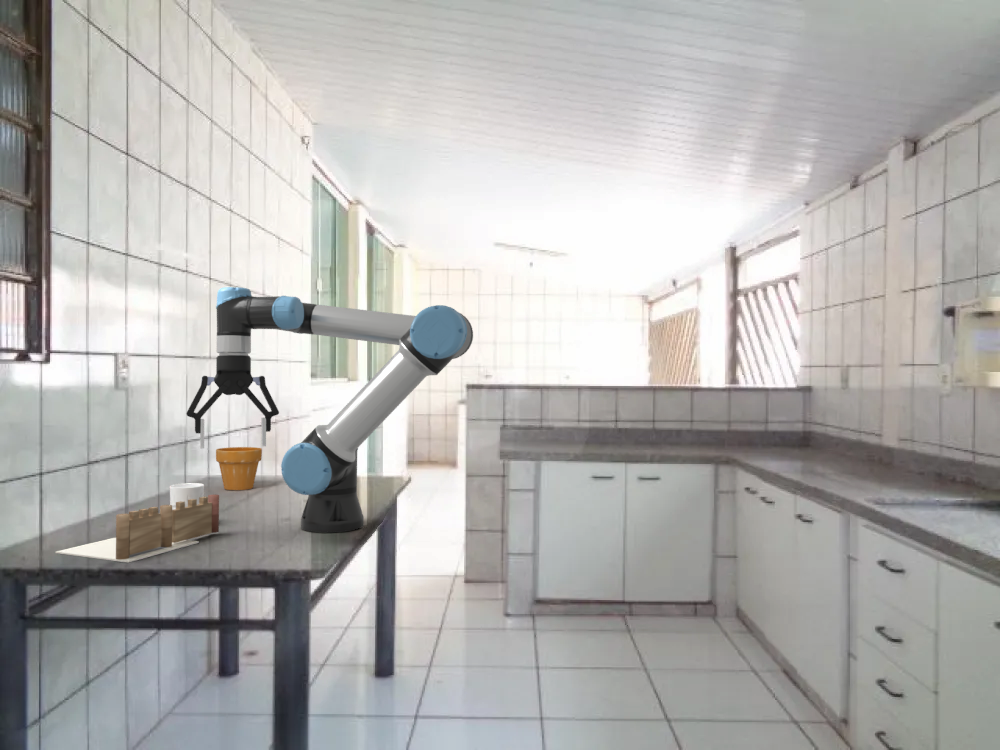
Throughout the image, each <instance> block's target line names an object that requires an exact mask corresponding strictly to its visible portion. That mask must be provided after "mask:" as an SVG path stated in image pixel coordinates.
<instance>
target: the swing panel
mask: <svg viewBox="0 0 1000 750" xmlns="http://www.w3.org/2000/svg"><path fill="white" fill-rule="evenodd" d="M219 528H220V494H217V493H215V494H214V493H213V494H208V495H207V496H204V497H200V498H199V504H198V505H197V499H190V500H188V507H185V502H182V501H180V502H176V509H174V510H172V543H176V542H180V541H184V540H191V539H194V538H195V539H196V538H199V537H201V536H206V535H210V534H215V533H219V532H220V529H219Z"/></svg>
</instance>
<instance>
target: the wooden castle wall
mask: <svg viewBox="0 0 1000 750" xmlns="http://www.w3.org/2000/svg"><path fill="white" fill-rule="evenodd" d="M115 519H116V520H115V537H116V559H118V560H122V559H128V558H129V555H132V554H135V553H139V552H143V551H147V550H150V549H154V548H158V547H171V546H172V505H170V504H162V505H159V507H158V506H152V507H148V508H141V509H138V510H131V511H129V512H128V513H118V514H116V515H115Z"/></svg>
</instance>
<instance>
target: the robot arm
mask: <svg viewBox="0 0 1000 750" xmlns="http://www.w3.org/2000/svg"><path fill="white" fill-rule="evenodd" d="M215 309H216V348H215V349H216V350H215V351H216V353H217V354H219V355H217V357H216V358H215V359H216V361H215V363H216V367H215V368H216V370H215V372H216V373H215V376H207V375H203V376H202V377H201V381H200V382H201V383H200V386H199V388H198V390H197V392H196V393H195V396H194V397H193V400H192V401H191V403H190V405H189V408H188V409H187V411H186V413H185V414H186V416H187V417H189V418H192V419H194V433H195V434H200V438H199V440H200V441H199V443H200V445H199V447H200V449H205V419H204V418H202V417H203V416H204V415H205V414H206V412H208V410H209V409H210V408H211V407H212V406H213V405H214V403H215V402H216V401H217V400H218V399H219V398H220V397H221V396H222V395H223V394H224V395H226V396H231V395H235V396H236V395H237V396H241V395H243V394H245V395H246V397H247V398H249V400H250V401H251V402H252V403H253V405H255V407H256V408H257V409H258V410H259V412H261V414H262V415H263V416H264V417H261V428H260V429H261V432H260V433H261V437H260V439H261V441H260V442H261V444H260V445H261V447H267V432H271V430H272V417H275V416H278V415H279V413H280V411H279V409H278V407H277V405H276V404H275V401H274V399H273V397H272V396H271V393H270V391H269V389H268V387H267V383H266V377H265V376H264V375H259V376H252V373H251V372H252V371H251V370H252V369H251V368H252V366H251V365H252V362H251V361H252V357H250V356H249V354H251V352H252V330H278V331H284V332H291V333H294V334H299V335H301V334H305V335H315V336H322V337H323V336H324V337H331V338H338V339H339V338H340V339H345V340H346V339H347V340H356V341H363V342H371V343H372V342H373V343H380V344H385V345H386V344H387V345H388V344H389V345H394V346H395V345H396V346H399V348H398V350H397V351H396V352H395V353H394V354H393V356H392V357H391V358H389V360H388V361H387V362H385V364H384V365H383V366H382V367H381V368H380V369H379V370H378V371H377V372H376V373H375V374H374V375H373V377H372V378H370V380H369V381H368V382H367V383H366V384H365V385H364V386H363V387H362V388H361V389H360V390H359V391H358V392H357V393H356V394H355V395H354V396H353V398H351V400H350V401H349V402H348V403H347V404H346V405H345V406H343V408H342V409H341V410H340V411H339V413H337V414H336V415H335V416H334V418H332V419H331V420H330V422H329V423H328V424H319V425H317V426H316V427H315V428H314V429H313V430H312V431H311V432H310V433H308V435H307V436H306V437H305V438H304V439H303V440H302V441H301V442H299V443H297V444H294V445H293V446H291V447H290V448H289V449H288V450H286V452H285V454H284V455H283V457H282V459H281V465H280V467H281V468H280V469H281V475H282V479H283V481H284V482H285V484H286V485H287V487H289V488H290V489H291V490H292V491H293V492H295V493H297V494H298V495H299V494H300V495H303V496H308V497H307V499H306V502H305V505H304V509H303V513H302V515H301V518H300V528H301V530H304V531H307V532H311V533H342V532H344V533H345V532H350V531H355V529H356V530H359V529H361V528H363V527H364V517H365V516H364V514H363V511H362V507H361V504H360V501H359V498H358V494H357V493H358V450H359V447H361V445H362V444H363V443H364V442H365V441H366V440H367V439H368V438H369V437H370V436H371V435H372V434H373V433H374V431H375V430H376V429H378V427H380V425H382V423H383V422H384V421H385V420H386V419H387V418H388V417H389V416H390V415H391V414H392V413H393V412H394V411H395V410H396V409H397V408H398V407H399V406H400V404H401V403H403V401H404V400H405V399H407V398H408V396H409V395H410V394H411V393H412V392H413V391H414V390H415V389H416V388H417V387H418V386H419V385H420V384H421V383H422V382H423V380H424V379H425V378H427V377H429V376H438V374H440V372H441V371H442V370H443V369H445V368H446V367H447V365H448V364H449V363H450V362H451V361H452V360H454V359H458V358H460V357H462V356H463V355H465V354H466V353H467V352H468V350H470V348H471V346H472V344H473V340H474V331H473V327H472V324H471V322H470V321H469V319H468V318H467V317H466V316H465V315H463V313H460V312H459V311H457V310H456V309H455V308H453V307H451V306H447V305H441V304H439V305H438V304H437V305H431V306H428V307H425V308H423V309H422V310H420V311H419V312H418V313H417V315H410V314H402V313H392V312H384V311H376V310H375V311H374V310H368V309H360V308H359V309H358V308H352V307H351V308H350V307H349V308H348V307H342V306H334V305H323V304H316V303H309V302H307V303H306V302H302V301H301V299H300V298H299V297H297V296H287V295H280V296H253V295H252V292H251V289H249V288H247V287H237V286H236V287H233V286H232V287H231V286H226V287H220V288H219V289H218V291H217V296H216V305H215ZM213 382H214V383H215V385H216V386H217V390H216V391H215V392H214V393H213V395H212V396H211V397H209V399H208V400H207V401H206V402H205V403H204V405H202V407H200V409H199V410H198V411H197V412H195V410H196V409H197V407H198V404H199V403H200V401H201V399H202V397H203V395H204V393H205V392H206V389H207V387H208V386H211V384H212V383H213ZM253 383H255V385H256V386H259V389H260V391H261V393H262V394H263V397H264V399H265V401H266V402H267V404H268V405H267V406H269V409H270V410H271V411H268V409H267V408H266V406H264V405H263V403H262V402H261V401H260V400H259V399H258V397H257V396H255V394H254V393H253V392H252V390H251V389H250V386H251V385H252V384H253ZM360 527H361V528H360ZM358 528H359V529H358Z"/></svg>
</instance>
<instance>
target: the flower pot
mask: <svg viewBox="0 0 1000 750" xmlns="http://www.w3.org/2000/svg"><path fill="white" fill-rule="evenodd" d="M262 453H263V449H262V448H261V447H251V446H238V447H237V446H236V447H235V446H231V447H230V446H229V447H221V448H216V449H215V460H216V462H218V465H219V469H220V474H221V480H222V483H223V489H224V490H225V491H247V490H251V489H253V488H254V486H255V485H254V484H255V480H256V477H257V472H258V467H259V462H261V461H262V458H263V457H262V455H263V454H262Z"/></svg>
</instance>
